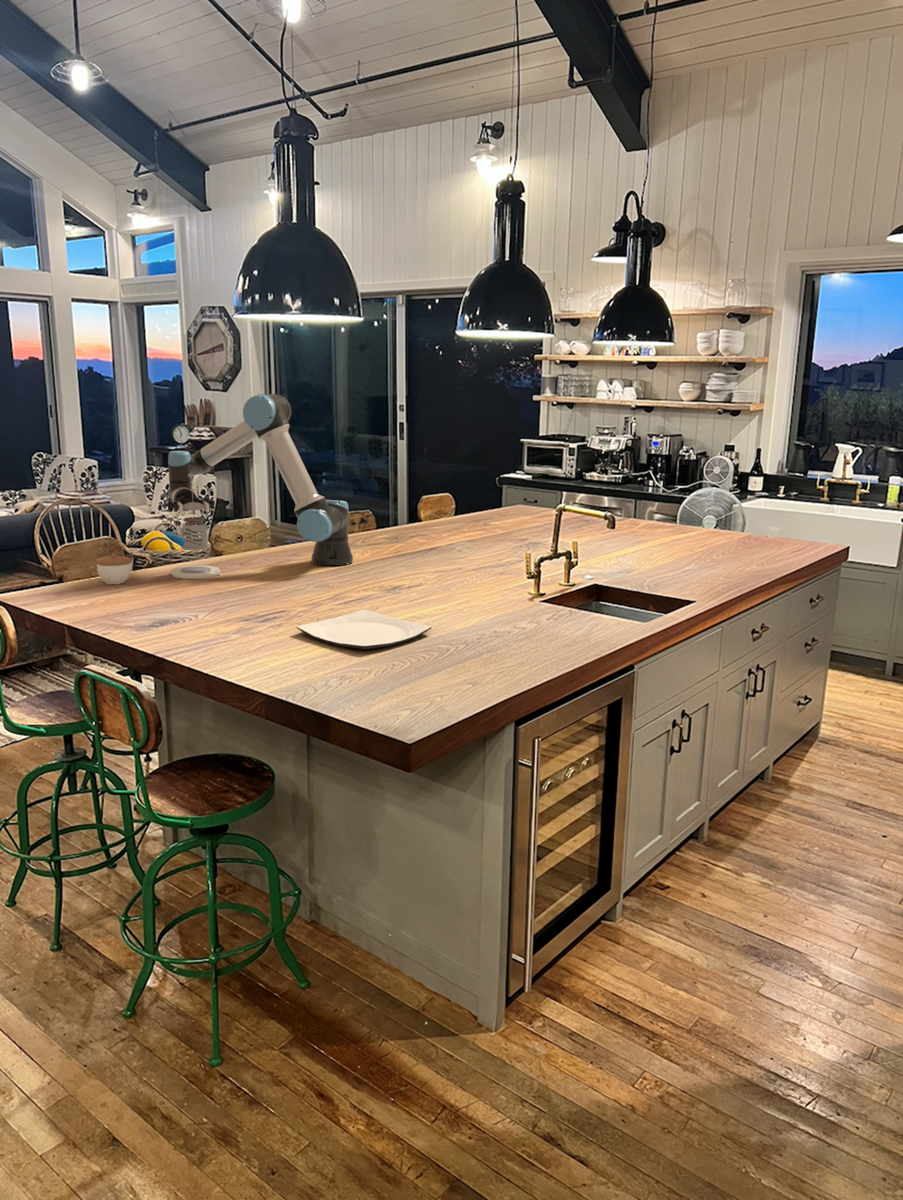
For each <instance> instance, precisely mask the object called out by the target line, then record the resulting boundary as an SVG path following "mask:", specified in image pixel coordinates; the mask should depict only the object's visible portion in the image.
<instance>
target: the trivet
mask: <svg viewBox="0 0 903 1200" xmlns="http://www.w3.org/2000/svg"><path fill="white" fill-rule="evenodd" d="M171 575H172V576H173V577H172V576H171ZM218 575H219V576H220V575H221V569H220V567H217V566H215V565H214V566H213V565H204V564H203V565H202V564H201V565H200V564H199V565H197V564H195V565H183V566H178V567H174V568H172V569H170V576H171V577H172V578H174V577H178V578H183V579H182V580H186V579H198V580H206V579H207V580H209V579H214V578H217V577H219V576H218ZM216 576H217V577H216ZM213 577H214V578H213ZM178 578H177V579H178ZM208 578H209V579H208Z"/></svg>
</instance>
